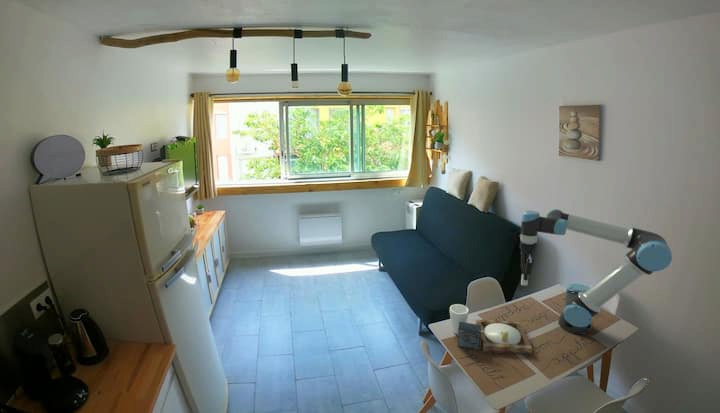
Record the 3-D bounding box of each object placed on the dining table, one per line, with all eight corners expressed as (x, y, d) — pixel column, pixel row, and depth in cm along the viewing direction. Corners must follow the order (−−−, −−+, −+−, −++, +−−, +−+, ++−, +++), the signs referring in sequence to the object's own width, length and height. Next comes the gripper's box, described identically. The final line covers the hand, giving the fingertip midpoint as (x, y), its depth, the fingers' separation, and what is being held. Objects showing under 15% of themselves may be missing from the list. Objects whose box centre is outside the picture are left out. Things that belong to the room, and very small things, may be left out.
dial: (482, 325, 196) (483, 314, 194) (516, 328, 193) (517, 317, 191) (486, 345, 180) (487, 334, 178) (524, 349, 177) (525, 337, 175)
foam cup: (467, 337, 189) (469, 314, 186) (449, 335, 191) (450, 313, 188) (466, 326, 198) (467, 304, 195) (448, 324, 200) (449, 303, 196)
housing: (518, 327, 196) (519, 320, 195) (531, 354, 175) (532, 347, 174) (475, 325, 199) (476, 318, 198) (483, 352, 178) (483, 345, 177)
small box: (480, 342, 185) (481, 324, 182) (479, 350, 179) (481, 332, 176) (458, 339, 188) (459, 320, 185) (457, 346, 182) (458, 328, 180)
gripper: (516, 237, 191) (513, 278, 197) (524, 246, 178) (520, 290, 185) (531, 237, 190) (527, 278, 196) (540, 246, 178) (536, 291, 184)
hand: (524, 284), depth 191 cm, fingers closed
